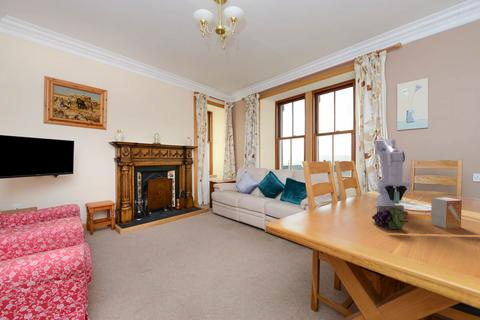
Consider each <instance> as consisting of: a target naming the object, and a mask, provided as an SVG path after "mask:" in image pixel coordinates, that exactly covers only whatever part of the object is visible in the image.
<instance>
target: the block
mask: <svg viewBox="0 0 480 320" xmlns="http://www.w3.org/2000/svg"><path fill="white" fill-rule="evenodd" d="M385 209H391V210H392V209H393V210H394V209H396V208H385ZM397 209H398V210H399V211H400V213H402V216H403V217H404V219H405V218H409V216H408V215H409V213H408V212H409V211H407V210H405V209H404V210H402V209H399V208H397Z"/></svg>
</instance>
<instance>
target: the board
mask: <svg viewBox="0 0 480 320" xmlns="http://www.w3.org/2000/svg"><path fill="white" fill-rule="evenodd" d="M376 206H377V207H376V213H377V212H378V211H379V212H382V213H383V212H384V210H385V208H399V209H402V210H404V211H405V209H404V208H405V206H404V205H401V204H395V205H377V204H376Z"/></svg>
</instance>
